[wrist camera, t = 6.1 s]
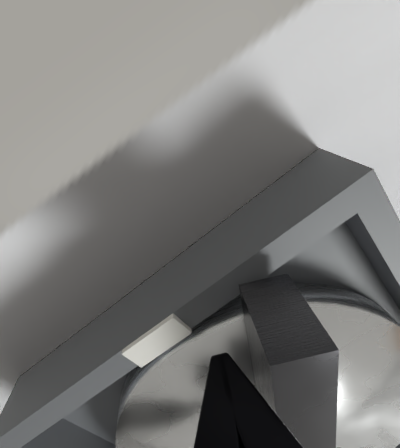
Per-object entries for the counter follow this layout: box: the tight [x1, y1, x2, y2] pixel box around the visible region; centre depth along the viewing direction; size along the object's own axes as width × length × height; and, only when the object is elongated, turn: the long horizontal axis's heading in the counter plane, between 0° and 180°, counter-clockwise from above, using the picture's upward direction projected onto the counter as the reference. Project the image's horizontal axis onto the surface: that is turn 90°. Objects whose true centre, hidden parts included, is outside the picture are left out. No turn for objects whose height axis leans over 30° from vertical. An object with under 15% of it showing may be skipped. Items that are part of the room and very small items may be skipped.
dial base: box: [0, 148, 400, 448], centre depth 15 cm, size 18×18×4 cm
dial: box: [115, 273, 400, 448], centre depth 12 cm, size 17×15×5 cm
